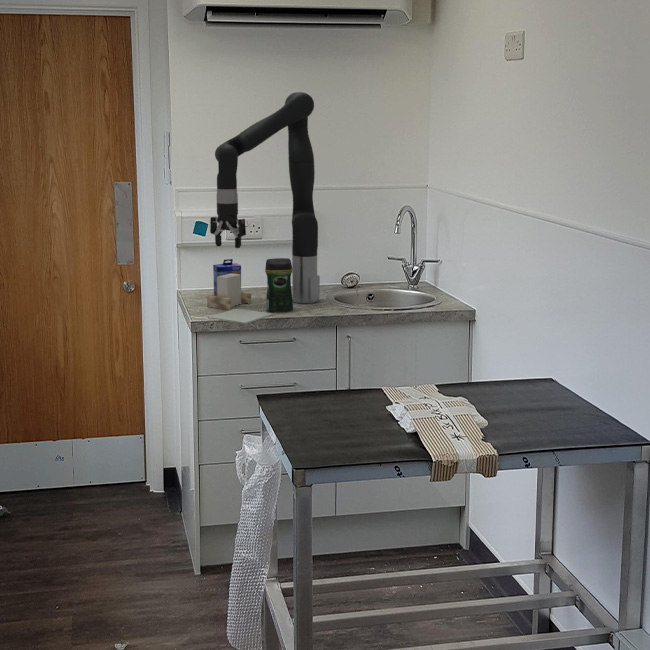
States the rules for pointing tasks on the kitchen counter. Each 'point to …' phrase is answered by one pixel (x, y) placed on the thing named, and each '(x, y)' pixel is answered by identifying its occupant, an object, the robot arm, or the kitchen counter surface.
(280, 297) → the coffee jar
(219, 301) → the divider rack
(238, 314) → the sage mat
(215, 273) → the ink cartridge box
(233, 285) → the block
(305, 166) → the robot arm
